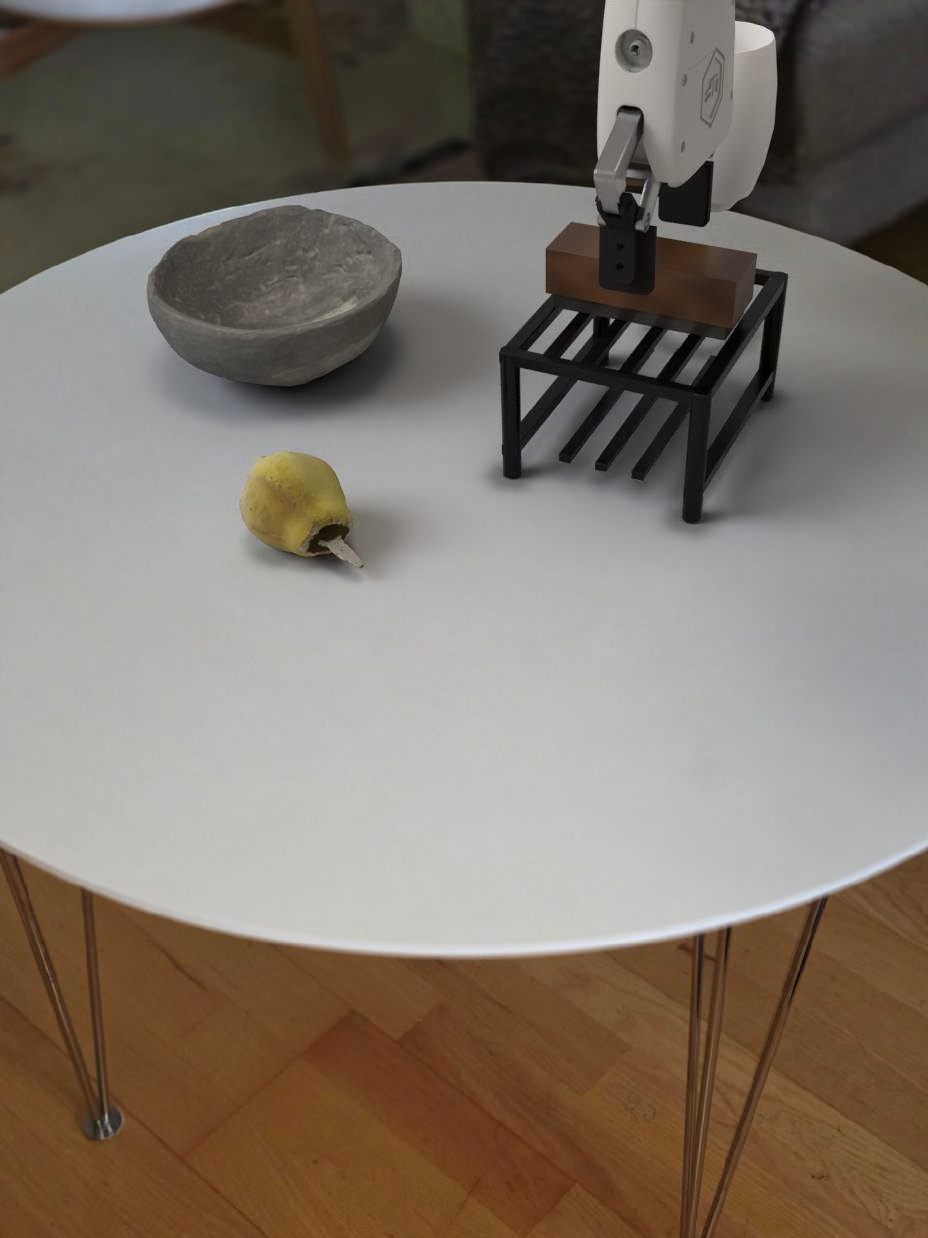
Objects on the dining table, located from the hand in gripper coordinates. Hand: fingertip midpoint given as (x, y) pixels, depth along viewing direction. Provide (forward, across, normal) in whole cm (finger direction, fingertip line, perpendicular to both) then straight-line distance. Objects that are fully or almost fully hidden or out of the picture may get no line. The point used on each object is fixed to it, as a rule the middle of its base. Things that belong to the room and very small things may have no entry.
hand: (656, 254), depth 82 cm
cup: (+13, +15, +2) cm, 20 cm away
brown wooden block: (+4, 0, 0) cm, 4 cm away
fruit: (+13, -19, +15) cm, 27 cm away
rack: (+13, 0, +1) cm, 13 cm away
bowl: (+13, -1, +28) cm, 30 cm away
